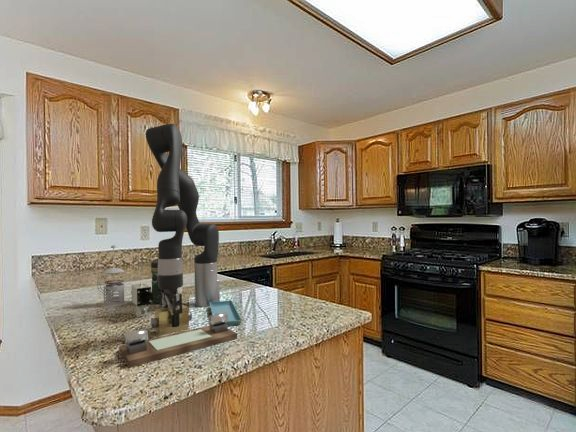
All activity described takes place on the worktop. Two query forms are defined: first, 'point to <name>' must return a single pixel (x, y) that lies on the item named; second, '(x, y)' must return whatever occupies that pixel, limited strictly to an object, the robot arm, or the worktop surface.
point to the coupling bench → (174, 341)
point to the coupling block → (164, 321)
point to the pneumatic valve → (141, 298)
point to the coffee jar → (155, 282)
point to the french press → (113, 288)
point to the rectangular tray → (228, 308)
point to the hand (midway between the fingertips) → (171, 323)
